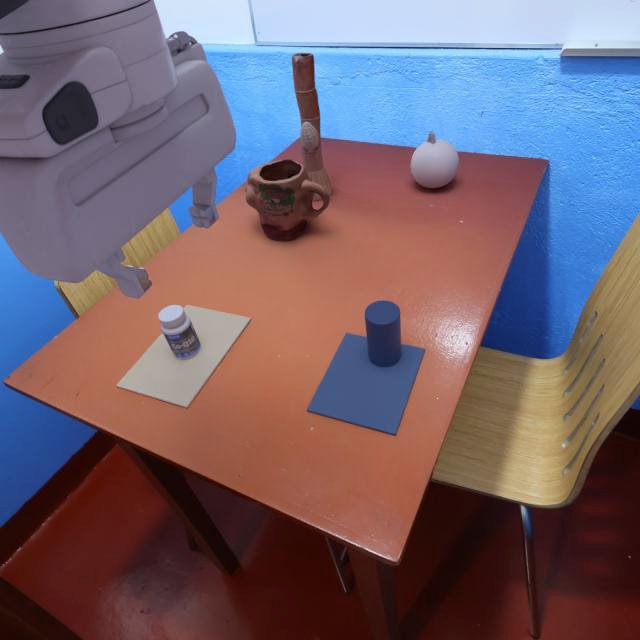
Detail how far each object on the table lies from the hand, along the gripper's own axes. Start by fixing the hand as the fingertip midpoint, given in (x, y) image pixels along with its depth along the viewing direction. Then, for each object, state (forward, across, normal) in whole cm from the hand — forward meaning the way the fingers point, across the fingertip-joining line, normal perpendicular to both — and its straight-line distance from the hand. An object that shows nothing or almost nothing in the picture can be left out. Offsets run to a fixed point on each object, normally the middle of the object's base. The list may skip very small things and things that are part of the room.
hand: (175, 255), depth 38 cm
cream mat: (+34, -15, -23) cm, 44 cm away
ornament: (+34, -77, +4) cm, 84 cm away
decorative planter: (+34, -53, -21) cm, 67 cm away
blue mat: (+34, -18, +8) cm, 39 cm away
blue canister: (+34, -23, +9) cm, 42 cm away
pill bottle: (+34, -15, -23) cm, 44 cm away
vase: (+34, -70, -22) cm, 81 cm away
